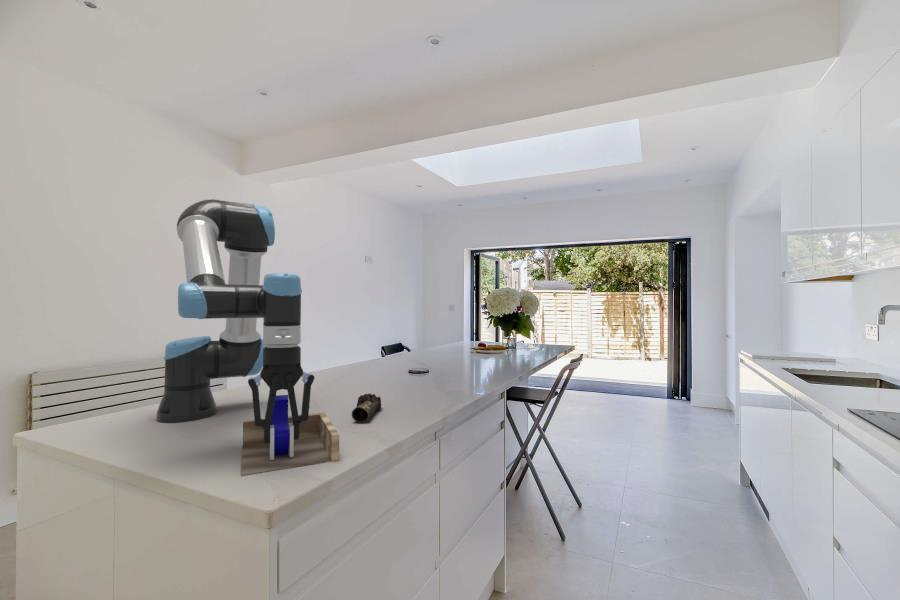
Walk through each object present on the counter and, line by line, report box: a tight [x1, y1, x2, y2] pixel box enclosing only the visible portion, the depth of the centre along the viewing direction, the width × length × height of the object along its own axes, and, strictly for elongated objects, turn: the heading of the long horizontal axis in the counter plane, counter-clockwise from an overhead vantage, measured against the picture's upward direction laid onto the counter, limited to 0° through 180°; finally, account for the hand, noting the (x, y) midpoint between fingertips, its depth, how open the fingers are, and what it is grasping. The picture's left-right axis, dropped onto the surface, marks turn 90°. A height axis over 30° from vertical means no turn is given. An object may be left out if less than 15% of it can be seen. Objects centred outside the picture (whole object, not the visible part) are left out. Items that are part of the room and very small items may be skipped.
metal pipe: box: [351, 392, 382, 424], centre depth 125 cm, size 18×7×6 cm, turn 175°
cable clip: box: [271, 394, 289, 456], centre depth 95 cm, size 12×4×6 cm
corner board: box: [240, 412, 340, 477], centre depth 94 cm, size 20×18×6 cm
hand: (281, 456), depth 90 cm, fingers closed on cable clip, 3 cm apart
